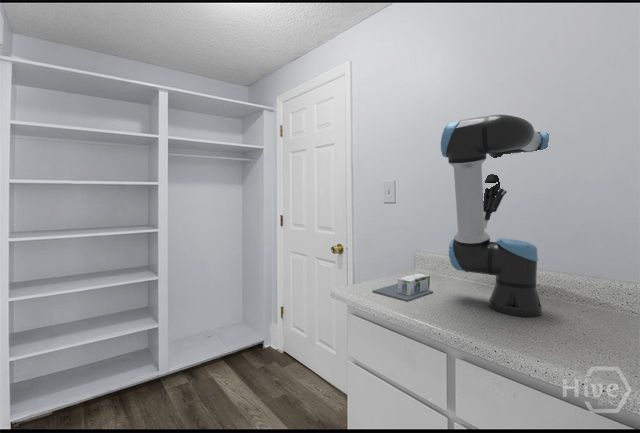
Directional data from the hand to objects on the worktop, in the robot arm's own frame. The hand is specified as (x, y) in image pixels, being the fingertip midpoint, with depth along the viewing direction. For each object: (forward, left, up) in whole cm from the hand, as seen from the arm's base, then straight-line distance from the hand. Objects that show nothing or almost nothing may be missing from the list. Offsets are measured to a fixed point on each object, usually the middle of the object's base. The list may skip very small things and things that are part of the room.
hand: (482, 227), depth 136 cm
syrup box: (-2, +26, -22) cm, 34 cm away
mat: (-5, +36, -26) cm, 45 cm away
